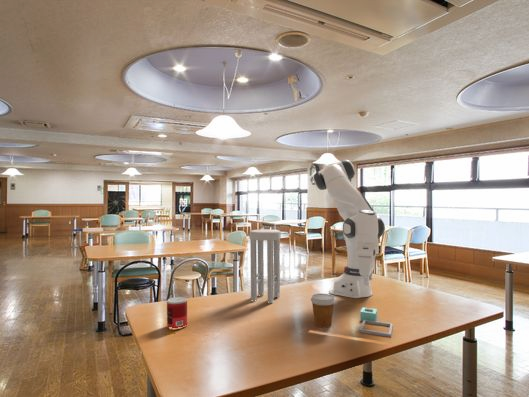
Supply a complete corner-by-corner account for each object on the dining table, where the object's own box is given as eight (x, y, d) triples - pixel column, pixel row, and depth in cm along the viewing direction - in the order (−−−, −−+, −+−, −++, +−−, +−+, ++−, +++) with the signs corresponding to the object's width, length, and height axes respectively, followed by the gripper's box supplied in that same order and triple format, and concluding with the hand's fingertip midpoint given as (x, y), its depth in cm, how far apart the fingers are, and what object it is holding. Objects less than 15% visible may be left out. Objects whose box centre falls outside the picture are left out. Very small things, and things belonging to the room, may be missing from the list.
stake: (358, 322, 136) (358, 310, 136) (361, 317, 142) (361, 305, 142) (376, 325, 133) (376, 313, 133) (378, 319, 139) (378, 307, 139)
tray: (359, 334, 124) (359, 329, 124) (363, 324, 134) (363, 319, 134) (390, 339, 119) (390, 334, 119) (392, 328, 129) (392, 323, 129)
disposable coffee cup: (320, 333, 126) (320, 301, 126) (306, 324, 134) (306, 295, 134) (340, 328, 130) (340, 298, 130) (325, 320, 138) (325, 292, 138)
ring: (360, 320, 136) (360, 311, 136) (362, 315, 141) (362, 307, 141) (375, 322, 133) (375, 313, 133) (377, 317, 139) (377, 309, 139)
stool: (245, 301, 164) (244, 231, 164) (257, 293, 179) (257, 228, 179) (274, 305, 159) (273, 232, 159) (284, 296, 173) (284, 229, 173)
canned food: (190, 324, 136) (190, 297, 136) (179, 331, 128) (179, 303, 128) (174, 322, 138) (174, 295, 138) (163, 329, 131) (162, 301, 131)
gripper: (363, 245, 148) (363, 276, 148) (355, 252, 130) (356, 287, 129) (378, 246, 145) (378, 277, 145) (372, 253, 127) (373, 289, 127)
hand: (368, 282), depth 137 cm, fingers open, 8 cm apart
